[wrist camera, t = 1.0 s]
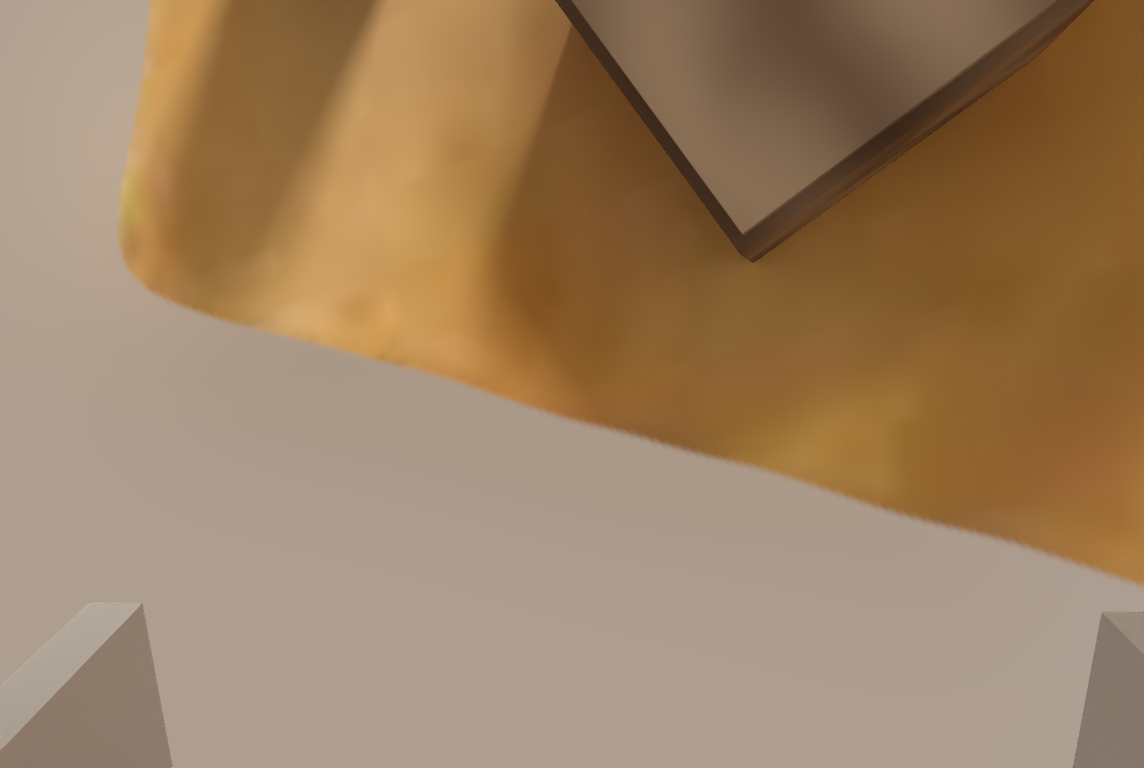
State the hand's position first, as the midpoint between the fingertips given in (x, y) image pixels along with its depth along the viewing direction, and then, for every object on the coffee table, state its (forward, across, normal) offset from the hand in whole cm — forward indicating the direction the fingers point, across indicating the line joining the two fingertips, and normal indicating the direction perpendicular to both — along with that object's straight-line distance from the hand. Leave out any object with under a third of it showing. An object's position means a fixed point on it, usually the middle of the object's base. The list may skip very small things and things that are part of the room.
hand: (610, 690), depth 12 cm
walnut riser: (+24, +7, +10) cm, 28 cm away
